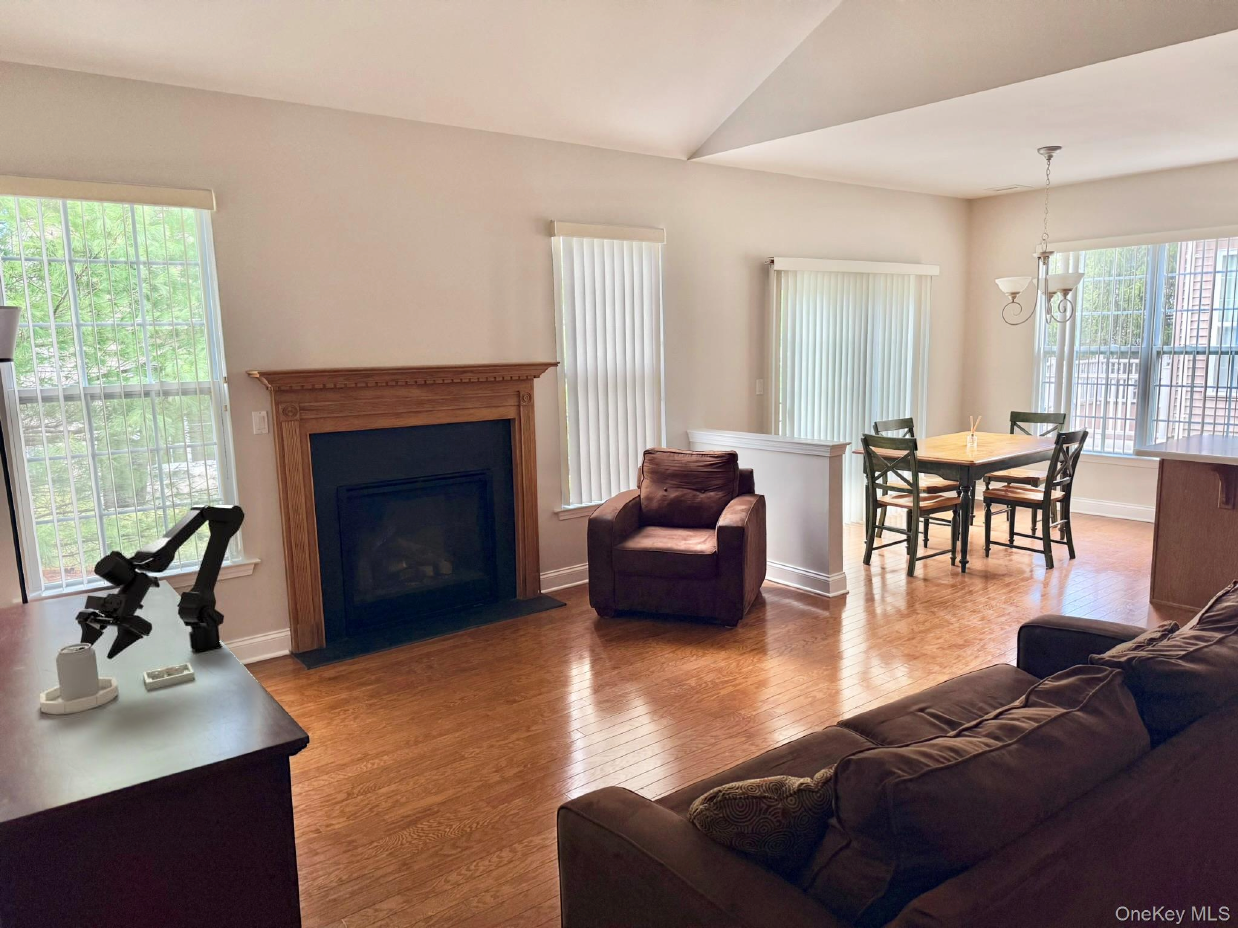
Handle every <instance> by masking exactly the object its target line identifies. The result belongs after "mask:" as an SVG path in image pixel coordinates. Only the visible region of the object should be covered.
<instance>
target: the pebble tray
mask: <svg viewBox="0 0 1238 928" xmlns="http://www.w3.org/2000/svg"><path fill="white" fill-rule="evenodd" d="M171 666H172V667H174V668H175V667H177V666H180V667H182V668H183V669H184V673H183V674H179V675H175V676H174V675H173V674H171V675H168V674H165V676H164V677H162V678H161V679H157V680H152V675H153V674H154V673H156V672H157V671H158V670H159V669H160V668H158V669H154V670H149V671H144V672H142V677H143V678H142V679H143V682H144V685H145V688H146V690H147V691H151V690H153V689H157V688H162V687H167V686H171V685H175V684H179V683H183V682H189V681H193V680H195V679H196V677H195V671H194V669H193V667H192V666H191V663H190V662H186V663H181V664H177V665H176V664H175V665H171ZM167 667H168V666H167ZM167 667H163V668H161V669H163V670H165V669H166V668H167Z"/></svg>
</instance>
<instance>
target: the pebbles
mask: <svg viewBox="0 0 1238 928" xmlns="http://www.w3.org/2000/svg"><path fill="white" fill-rule="evenodd" d="M172 666H173V665H169V666H167V668H166V667H165V668H166V669H165V670H163V669H162V668H158V669H159V670H158V671H157V672H156V673H154V674H153V675H152V680H157V679H161V678H162V677H164V676H165V674H168V675H171V674H173V675H174V676H175V675H179V674H183V673H184V669H183V668H182V667H180V666H177V667H175V668H174V667H172Z"/></svg>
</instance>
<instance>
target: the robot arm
mask: <svg viewBox="0 0 1238 928" xmlns="http://www.w3.org/2000/svg"><path fill="white" fill-rule="evenodd" d="M244 520H245V512H244V510H243V509H242V507H241V506H239V505H237V504H216V505H214V506H210V505H207V504H195V505H193V506H191V507H190V508H189V511H188V512H187V513H186V514H184V516H183V517H181V518H180V519H179V520H178V521H177V522H176V523H175V524H174V525H173V526H171V528H169V530H168V531H167V532H165V534H163V535H162V536H161V537H160V538H158V539H157V540H154V541H152V542H149V543H147V544H146V545H144V546H142V547H141V548H140V549H138V550H137V551H136V552H135V553H134V554H133V555H131V556H129V557H126V556H125V555H124V554H123V553H122V552H120V550H111V552H110V553H109V554H106V555H105V556H104V557H102V558H100V559H99V561H97V562H96V564H95V566H94V568H93V569H94V570H93V572H94V574H95V575H96V576H98V577H99V578H100V579H102V580H104V581H105V582H107V583H108V584H110V585H111V586H113V587H120V588H119V589H118V591H117V592H116V593H114V592H113V593H107V595H106V596H97V595H90V594H89V595H87V597H86V601H85V605H84V609H83V610H80V611H79V612H78V614H77V615H76V617H74V619H75V621H77V624H78V625H79V626H80V629H81V637H80V642H79V643H88V644H91V648H93V646H94V645H95V643H96V642H97V641H98V640H99V639H100V638H101V637H102V636H103V635H104V634H105V632H104V631H105V630H106V629H107V628H108V627H114V628H115V627H116V629H117V630H116V631H117V632H116V633H117V634H116V636H115V639H114V640H113V642H112V644H111V647H110V649H109V650H108V653H107V656H106V658H107V659H108V660H112V659H114V658H115V657H117V655H119V654H120V653H121V652H123V651H124V650H126V649H127V648H129V647H131V645H133V644H134V643H136V642H138V641H139V640H141V639H142V640H143V639H144V638H145V636H146V637H149V636H150V634H151V632H152V630H153V624H152V623H151V622H150V621H148V620H146V619H145V618H144V617H142V616H140V615H137V614H136V612H137V611H138V610H143V609H144V606H145V605H143V603H142V602H143V600H144V598H145V597H146V595H147V593H148V592H149V590H150V589H151V588H158V589H159V588H161V584H160V582H159V580H158V576H153V575H152V576H151V575H149V574H148V573H154V574H155V573H156V574H157V573H158V574H160V573H164V572H165V571H166V570H167V569H168V568H169V567H170V565H171V564H172V563H173V561H174V560H175V558H176V556H175V555H176V552H178V550H179V549H180V548H181V547H182V545H184V544H185V543H186V542H187V541H188V540H189V539H190V538H192V536H193V535H194V534H195V533H196V532H197V531H199V529H201V527H202V526H204V524H205V523H206V522H207V525H208V530H209V539H208V542H207V544H206V548H205V551H204V555H203V556H202V560H201V564H200V566H199V569H198V571H197V576H196V578H195V581H194V584H193V585H192V586H193V587H191V589H190V590H189V591H186V590H185V591H182V593H181V595H180V600H179V602H178V604H177V605H176V606H177V608H178V609H177V615H178V617H179V618H180V619H181V621H182V622H183V624H184V626H185V627H190V631H189V632H188V637H189V646H190V649H191V650H193V652H194V653H196V654H197V653H202V652H205V651H206V652H207V651H211V650H212V651H213V650H215V649H220V648H223V645H222V643H221V639H220V638H221V637H220V628H219V627H220V626H221V625H223V624H224V620H225V615H224V614H223V613H222V612H220V611H218V610H217V609H216V605H217V600H216V595H215V587H216V585H217V582H218V578H219V576H220V571H221V569H222V565H223V563H224V559H225V556H226V553H227V550H228V546H229V544H230V541H231V539H232V537H234V536H235V535H236V534H237V532H238V531H240V529H241V527H242V524H243V522H244ZM138 571H139V572H138ZM135 614H136V615H135ZM103 615H104V616H103ZM219 641H220V642H219Z"/></svg>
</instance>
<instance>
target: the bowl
mask: <svg viewBox="0 0 1238 928" xmlns="http://www.w3.org/2000/svg"><path fill="white" fill-rule="evenodd" d="M98 678H99V686H100V691H99V693H98V694H96V695H94V696H90V697H86V698H81V699H77V700H72V701H68V702H66V701H64V700H62V699H61V696H60V688H59V684H58V685H56V686H54V687H51V688H50V689H48V690H46V691H44V692H41V693H40V694H39V705H40V711H41V712H43V713H45V714H47V715H48V714H49V715H58V716H59V715H70V714H75V713H81V712H85V711H88V710H93V709H95V708H98V707H101V706H103V705H105V704H107V703H110V702H111V701H112V700H114V699H115V698H116V697H117V695H119V687H118V683H117V679H116V677H110V676H109V677H108V676H107V677H106V676H105V677H104V676H98Z"/></svg>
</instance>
